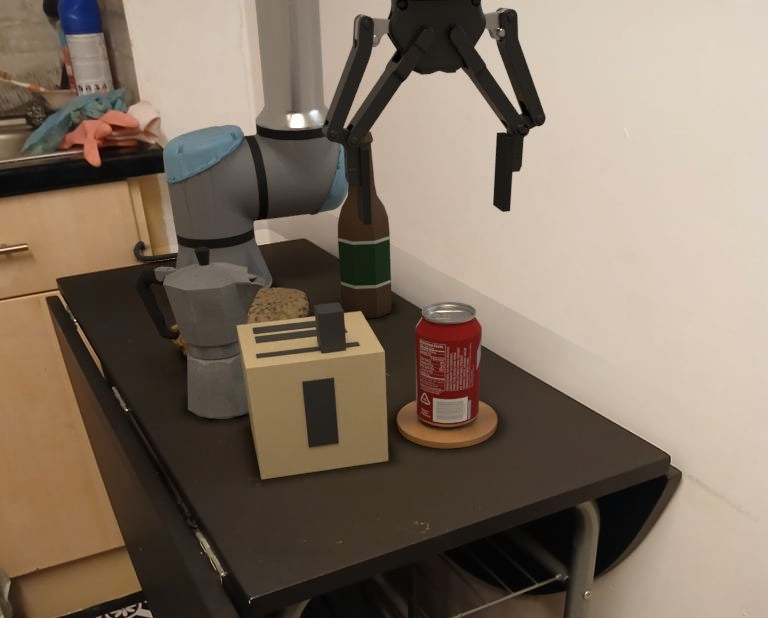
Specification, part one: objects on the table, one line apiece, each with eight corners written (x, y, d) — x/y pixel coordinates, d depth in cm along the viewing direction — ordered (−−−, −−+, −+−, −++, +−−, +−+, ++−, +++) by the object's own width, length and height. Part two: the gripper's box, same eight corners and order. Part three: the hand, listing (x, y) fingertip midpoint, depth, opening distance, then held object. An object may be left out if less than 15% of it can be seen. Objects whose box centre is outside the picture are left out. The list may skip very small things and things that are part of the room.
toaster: (251, 428, 87) (236, 324, 80) (366, 413, 90) (360, 309, 83) (261, 480, 78) (245, 367, 71) (389, 461, 81) (385, 350, 74)
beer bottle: (332, 316, 115) (319, 136, 101) (353, 298, 121) (344, 125, 107) (381, 322, 112) (375, 138, 99) (401, 303, 118) (397, 127, 105)
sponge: (205, 389, 99) (341, 323, 104) (178, 331, 95) (320, 266, 101) (179, 370, 110) (303, 312, 115) (154, 317, 106) (283, 259, 111)
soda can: (474, 434, 83) (478, 325, 76) (411, 429, 84) (409, 322, 77) (481, 405, 88) (485, 300, 82) (421, 401, 90) (421, 298, 83)
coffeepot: (293, 389, 95) (277, 237, 85) (263, 426, 88) (241, 264, 77) (178, 378, 99) (149, 231, 89) (139, 413, 91) (103, 256, 81)
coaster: (386, 408, 90) (386, 402, 90) (478, 395, 92) (478, 389, 92) (411, 455, 81) (410, 448, 81) (511, 440, 83) (512, 433, 83)
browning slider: (317, 343, 76) (313, 304, 73) (341, 340, 76) (339, 301, 74) (321, 352, 74) (318, 313, 72) (346, 349, 74) (344, 310, 72)
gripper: (288, -56, 58) (311, 237, 70) (601, -65, 62) (572, 212, 75) (275, -54, 64) (299, 216, 76) (562, -63, 68) (541, 193, 81)
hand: (434, 214), depth 76 cm, fingers open, 13 cm apart
